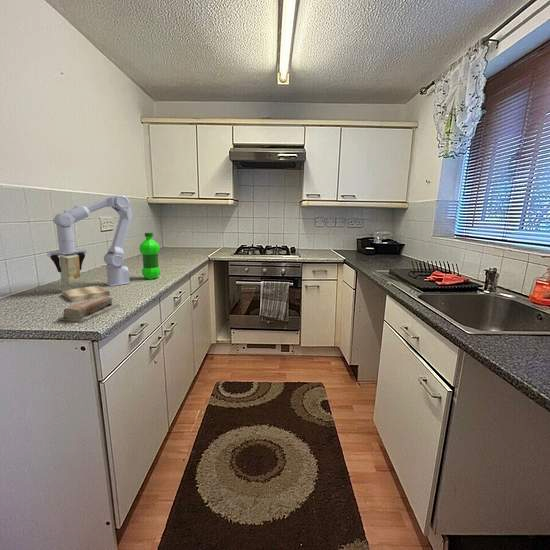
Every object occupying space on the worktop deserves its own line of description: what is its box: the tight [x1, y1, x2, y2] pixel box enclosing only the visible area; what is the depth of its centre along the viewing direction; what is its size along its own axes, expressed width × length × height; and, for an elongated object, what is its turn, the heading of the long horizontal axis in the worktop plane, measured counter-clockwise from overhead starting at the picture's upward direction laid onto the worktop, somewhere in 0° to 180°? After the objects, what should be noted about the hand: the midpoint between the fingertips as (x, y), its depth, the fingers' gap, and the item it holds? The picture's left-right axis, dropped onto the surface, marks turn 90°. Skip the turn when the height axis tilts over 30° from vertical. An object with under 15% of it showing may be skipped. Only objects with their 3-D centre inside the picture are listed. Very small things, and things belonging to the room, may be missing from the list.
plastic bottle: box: [139, 232, 162, 280], centre depth 161 cm, size 10×10×25 cm
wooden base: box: [62, 285, 110, 303], centre depth 128 cm, size 14×14×2 cm
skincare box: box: [59, 254, 81, 285], centre depth 132 cm, size 6×4×12 cm
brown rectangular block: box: [57, 295, 120, 323], centre depth 106 cm, size 18×5×10 cm
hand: (69, 270), depth 133 cm, fingers closed on skincare box, 7 cm apart
